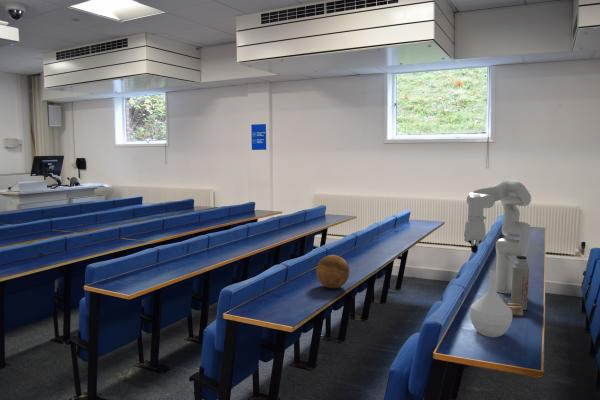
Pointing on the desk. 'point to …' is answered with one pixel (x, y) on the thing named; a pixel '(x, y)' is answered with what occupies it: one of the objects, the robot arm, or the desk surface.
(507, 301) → the block
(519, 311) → the rail
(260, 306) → the desk surface
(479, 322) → the vase
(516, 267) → the thermos bottle
